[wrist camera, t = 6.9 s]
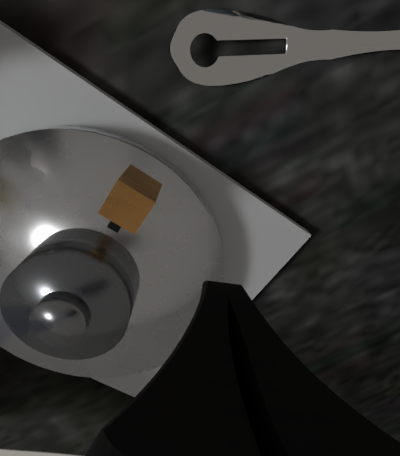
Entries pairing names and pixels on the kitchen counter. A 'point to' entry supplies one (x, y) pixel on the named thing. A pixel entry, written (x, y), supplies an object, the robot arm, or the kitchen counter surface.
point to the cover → (72, 294)
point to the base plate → (157, 141)
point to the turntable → (110, 233)
